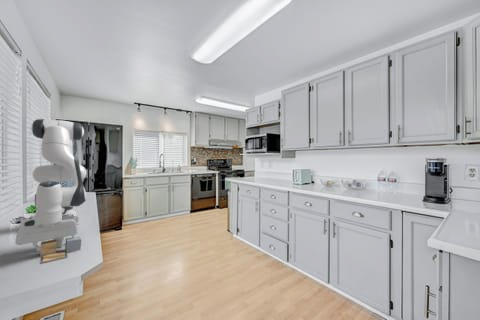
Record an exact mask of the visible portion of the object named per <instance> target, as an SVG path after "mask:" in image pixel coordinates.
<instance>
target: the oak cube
mask: <svg viewBox="0 0 480 320" xmlns="http://www.w3.org/2000/svg"><path fill="white" fill-rule="evenodd" d="M40 246H41V251H40V257H42V256H46V255H50V254H55V253H57V248H56V239H50V240H45V241H40Z"/></svg>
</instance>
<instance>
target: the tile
mask: <svg viewBox="0 0 480 320" xmlns="http://www.w3.org/2000/svg"><path fill="white" fill-rule="evenodd" d="M64 259H68V253H66V250H64V251H60V252H56V253H55V254H50V255H46V256H40V262H39V264H40V265H43V264H46V263H47V264H48V263H51V262H55V261H59V260H60V261H61V260H64Z"/></svg>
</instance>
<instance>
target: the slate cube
mask: <svg viewBox="0 0 480 320" xmlns="http://www.w3.org/2000/svg"><path fill="white" fill-rule="evenodd" d="M81 247H82V238H81V236H75V237H73V238H66V244H65V247H64V251H66V253H67V254H68V253H72V252H77V251H81V250H82V249H81Z"/></svg>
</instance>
